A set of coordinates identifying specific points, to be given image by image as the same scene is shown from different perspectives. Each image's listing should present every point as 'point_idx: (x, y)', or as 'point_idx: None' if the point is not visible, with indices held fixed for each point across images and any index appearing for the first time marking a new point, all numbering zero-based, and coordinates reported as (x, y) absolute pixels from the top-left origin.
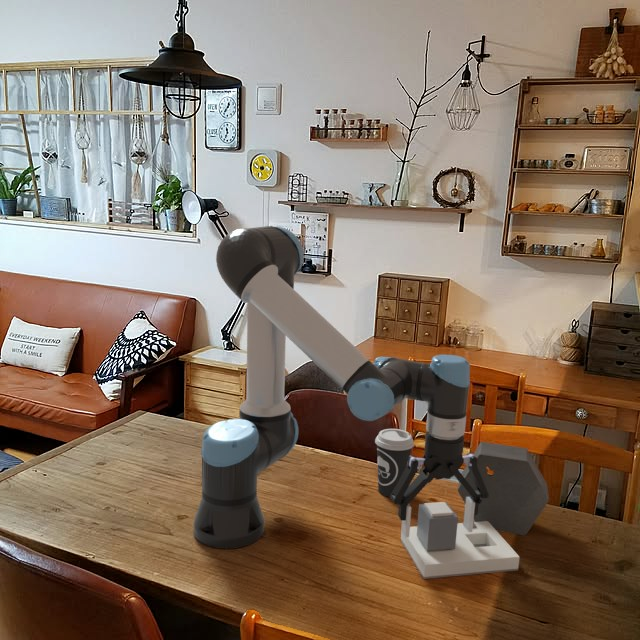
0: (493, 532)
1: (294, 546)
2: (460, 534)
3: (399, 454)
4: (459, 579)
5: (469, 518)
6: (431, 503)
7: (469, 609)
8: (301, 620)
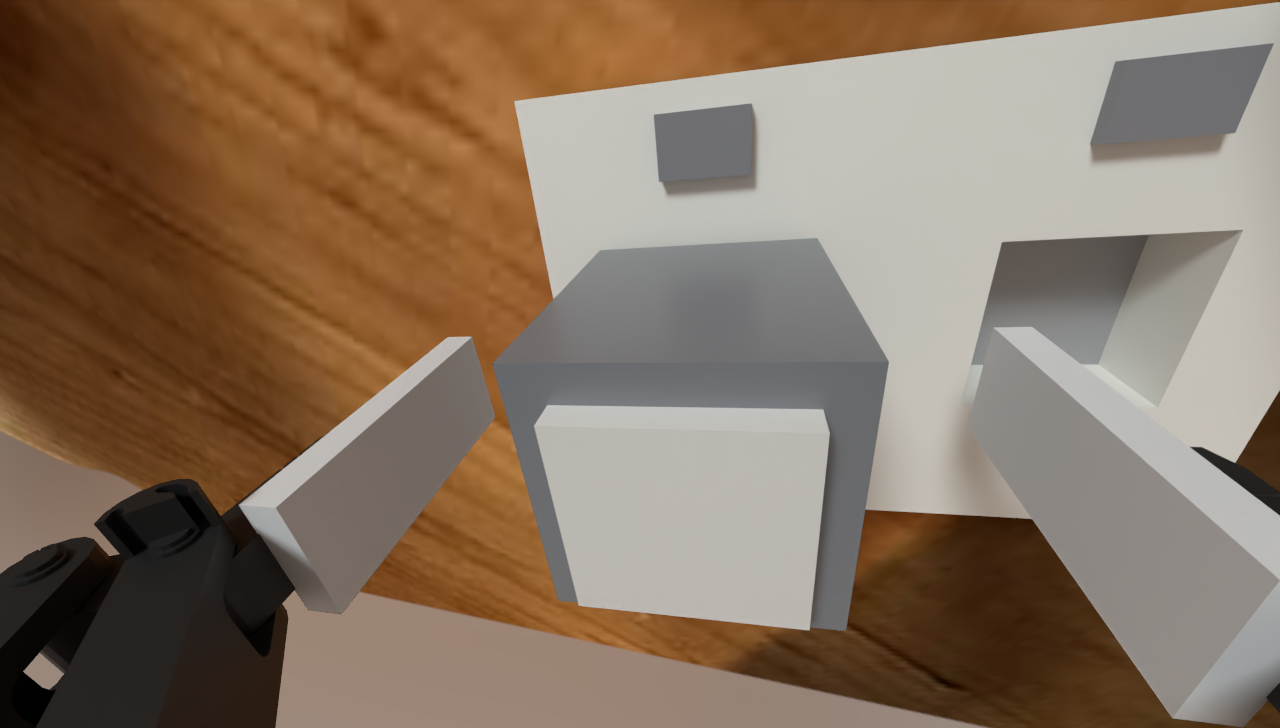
0: None
1: (31, 146)
2: (961, 242)
3: None
4: None
5: (1034, 501)
6: (625, 443)
7: None
8: None
